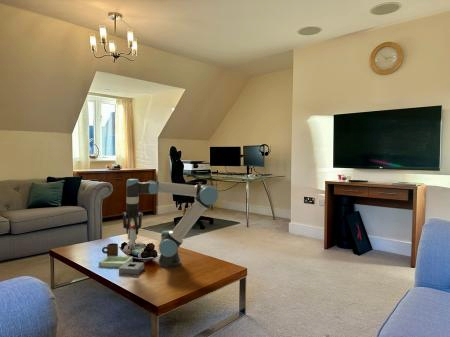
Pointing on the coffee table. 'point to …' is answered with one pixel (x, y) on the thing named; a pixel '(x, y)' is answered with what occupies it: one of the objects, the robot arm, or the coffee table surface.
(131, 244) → the pin
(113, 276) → the coffee table surface
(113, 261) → the tray
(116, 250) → the mug
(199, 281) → the coffee table surface
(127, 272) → the block
